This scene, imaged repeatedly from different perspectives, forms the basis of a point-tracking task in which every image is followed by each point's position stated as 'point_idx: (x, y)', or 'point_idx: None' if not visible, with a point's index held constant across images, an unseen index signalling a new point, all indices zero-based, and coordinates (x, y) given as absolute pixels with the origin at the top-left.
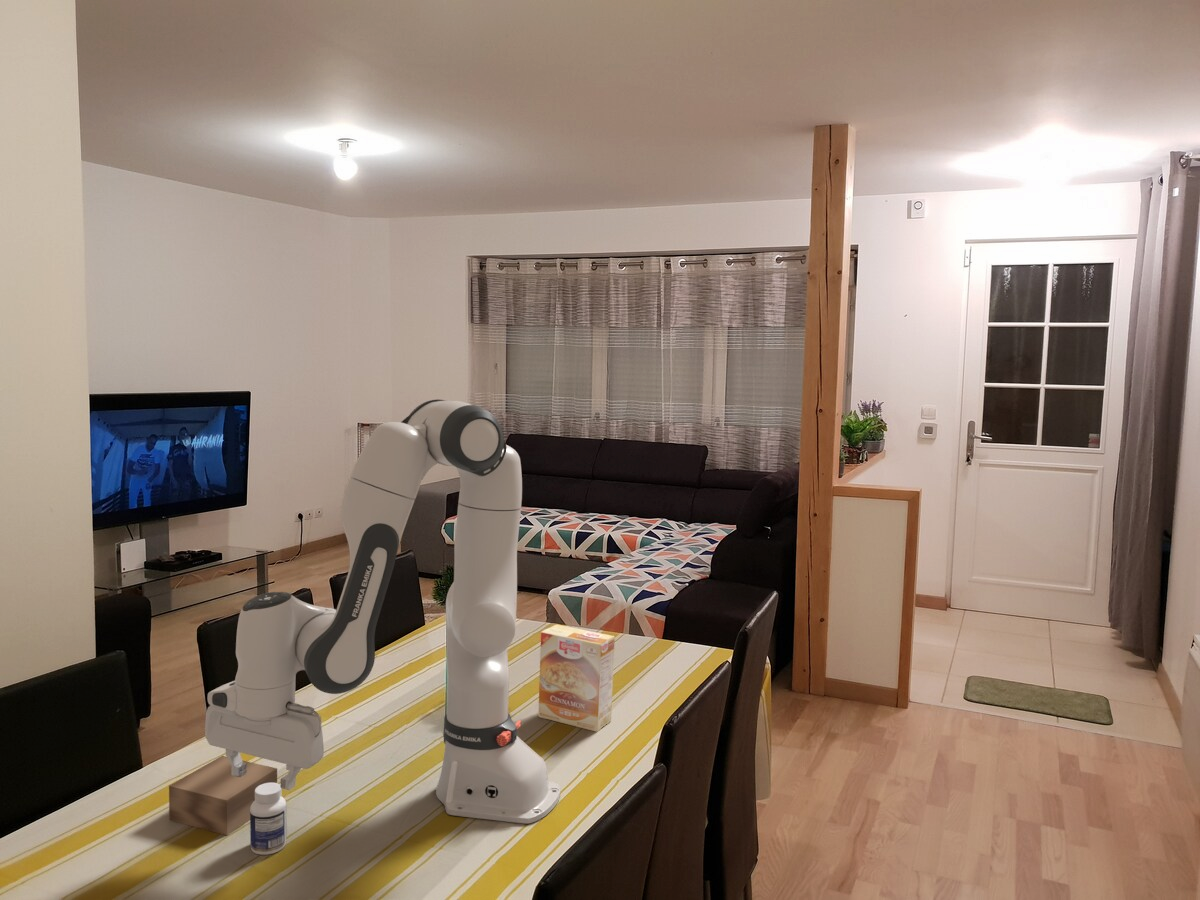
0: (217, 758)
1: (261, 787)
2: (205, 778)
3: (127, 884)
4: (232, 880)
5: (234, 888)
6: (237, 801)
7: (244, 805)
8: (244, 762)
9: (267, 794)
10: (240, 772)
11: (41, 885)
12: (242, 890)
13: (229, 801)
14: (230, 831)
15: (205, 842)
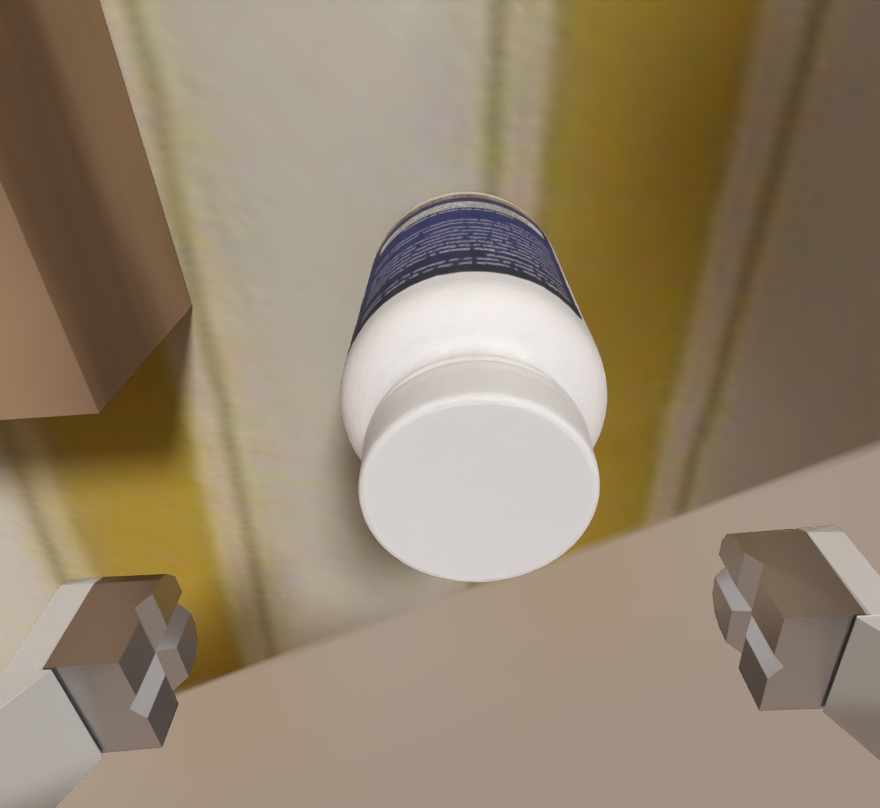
0: None
1: (408, 510)
2: None
3: (211, 654)
4: None
5: None
6: (87, 287)
7: (95, 197)
8: (82, 667)
9: (547, 559)
10: (171, 660)
11: None
12: (597, 544)
13: (99, 379)
14: (181, 286)
15: (166, 391)
